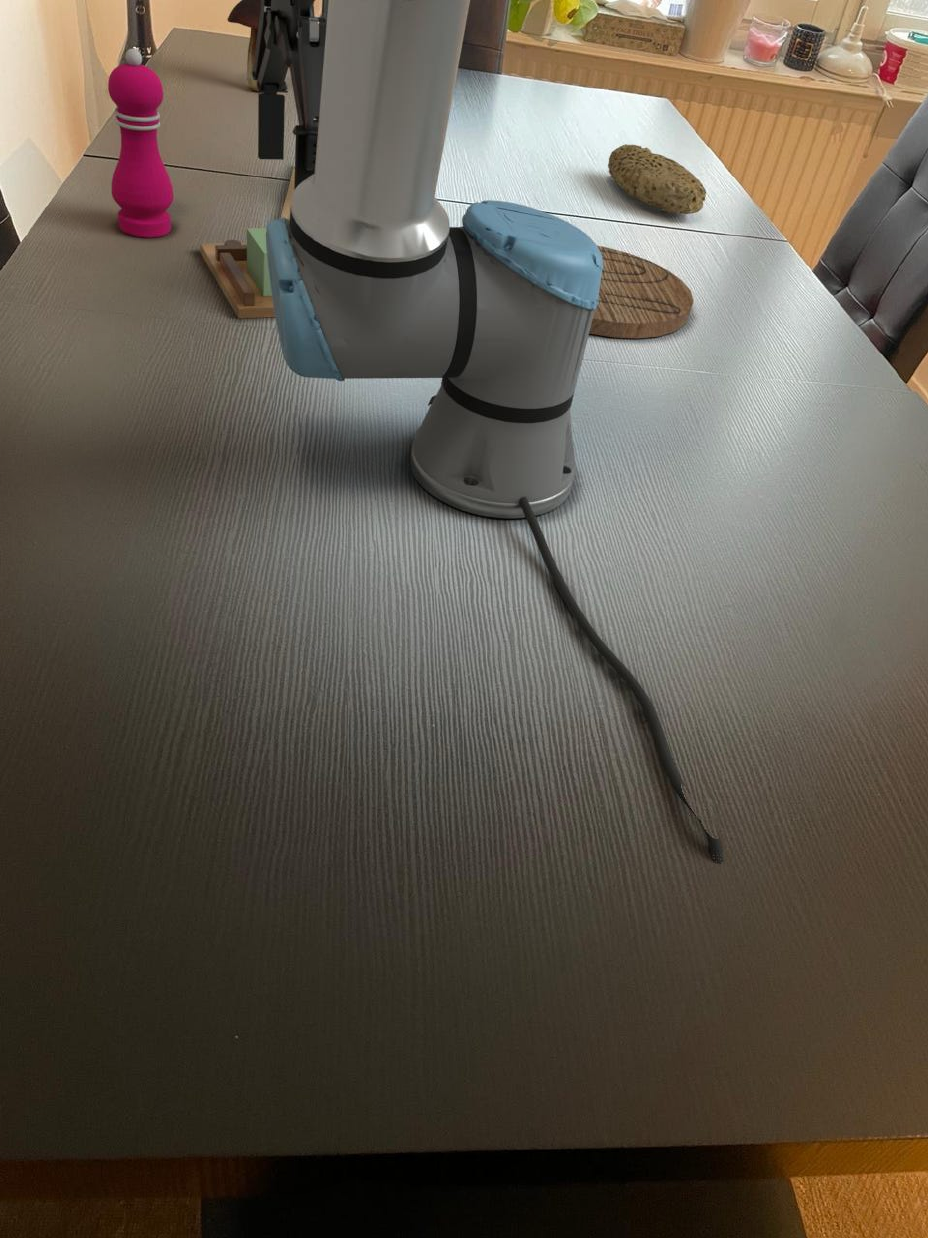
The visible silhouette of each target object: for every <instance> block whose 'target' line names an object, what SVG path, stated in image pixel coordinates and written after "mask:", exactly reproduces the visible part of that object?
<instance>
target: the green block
mask: <svg viewBox="0 0 928 1238" xmlns="http://www.w3.org/2000/svg"><path fill="white" fill-rule="evenodd" d="M266 231H267V229H266V227H259V228H258V227H257V228H255V227H254V228H251V227H249V228H247V229H246V243H247V272H248V273H249V275H250V277H251V278H252V280H253V281H254V283H255V284H256V286H257V287H258V289H259V291H260V292H261V294H262V295H263V296H264V297H265V296H272V291H271V284H270V276H269V268H268V259H267V249H266Z"/></svg>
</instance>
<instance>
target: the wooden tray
mask: <svg viewBox="0 0 928 1238" xmlns="http://www.w3.org/2000/svg"><path fill="white" fill-rule="evenodd" d="M199 250H200V251H199V252H200V255H201V256H202V258H203V261H204V262H205V264H206V265H207V267H208V268H209V269H208V270H209V271H210V272H211V274H212V276H213V277H214V279H215V281H216V282H217V284H218V286H219V288H220V289H221V291H222V293H223V295H224V296H225V298H226V299H227V301H228V304H229V305H230V306H231V308H232V310H233V312H234V313H235V315H236V317H237V319H239V320H240V319H259V318H261V319H262V318H276V317H275V311H274V305H273V298H272V296H265V297H264V296H263V295H262V294H261V292H260V291H259V289H258V287H257V286H256V284H255V283H254V281H253V280H252V278H251V277H250V275H249V273H248V272H247V242H241V241H239V240H236V239H226V240H224V242H221V243H220V242H218V243H217V242H215V243H214V242H213V243H212V242H211V243H200V244H199Z"/></svg>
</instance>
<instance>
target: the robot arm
mask: <svg viewBox="0 0 928 1238" xmlns="http://www.w3.org/2000/svg"><path fill="white" fill-rule="evenodd" d="M315 1H316V0H261V13H260V20H259V27H258V34H257V42H256V49H255V56H254V63H253V71H252V77H253V80H256V81H257V84H256V85H257V89H258V91H257V92H259V93H258V95H257V97H258V100H257V101H258V102H257V103H258V104H257V105H258V111H257V112H258V113H257V119H258V120H257V121H258V123H257V124H258V125H257V136H258V137H257V158H258V159H259V160H274V161H275V160H277V161H278V160H281V161H282V160H284V158H285V157H284V152H285V111H286V109H285V106H286V96H285V95H284V94H281V93H285V94H287V93H288V92H289V91H288V85H287V81H286V77H287V74H288V71H289V73H290V79H291V85H292V91H293V97H294V104H295V108H296V115H297V121H298V124H295V126H294V128H293V129H292V135H294V136H295V150H294V152H295V153H294V168H295V180H294V192H293V195H292V199H291V208H290V220H289V219H286V218H283V217H281V216H279V218H276V219H272V220H270V221H268V222H267V224H266V227H265V228H266V229H267V231H266V249H267V259H268V268H269V276H270V284H271V291H272V298H273V305H274V311H275V317H274V318H275V324H276V326H277V327H276V328H277V333H278V338H279V343H280V348H281V352H282V356H283V359H284V361H285V363H286V366H287V367H288V368H289V369H290V370H291V371H292V372H293V373H294V374H296V375H297V376H299V377H303V378H310V379H311V378H312V379H329V380H336V381H338V382H345V379H347V380H351V379H355V380H358V379H362V380H363V379H370V380H371V379H441V382H440V387H439V389H438V391H437V393H436V394H435V395H433V396H432V397H431V398H430V399H429V402H428V404H427V406H428V407H429V408H428V410H427V412H426V414H425V416H424V418H423V420H422V422H421V424H420V426H419V427H418V429H417V431H416V433H415V435H414V438H413V441H412V444H411V445H412V446H411V453H410V461H409V462H410V469H411V472H412V474H413V476H414V479H415V480H416V481H417V482H418V484H419V485H420V486H421V487H422V488H423V489H424V490H425V491H426V492H428V494H430V495H431V496H433V497H434V498H436V499H437V500H439V501H440V502H443V503H445V504H446V505H448V506H451V507H453V508H455V509H457V510H461V511H464V512H466V513H470V514H473V515H478V516H483V517H489V518H494V519H495V518H496V519H523V518H524V519H525V520H526V522H527V524H528V526H529V529H530V530H531V531H530V532H531V533H532V535H533V537H534V540H535V542H536V545H537V547H538V550H539V552H540V554H541V557H542V560H543V562H544V564H545V566H546V569H547V571H548V573H549V575H550V577H551V579H552V581H553V583H554V585H555V587H556V589H557V591H558V592H559V595H560V596H561V598H562V600H563V603H565V606H566V608H567V609H568V611H569V612H570V614H571V616H572V617H573V619H574V621H575V622H576V624H577V625H578V627H579V628H580V630H581V631H582V632H583V634H584V635H585V637H586V638H587V639H588V641H589V642H590V643H591V645H592V646H593V647H594V649H596V651H597V652H598V653H599V654H600V655H601V656H602V658H603V659H604V660H605V661H606V663H608V665H610V667H611V668H612V669H613V671H615V672H616V673H617V674H618V676H619V677H620V678H621V679H622V680H623V682H624V683H625V684H626V685H627V687H628V688H629V690H630V691H631V692H632V694H633V696H634V697H635V699H636V700H637V702H638V703H639V705H640V707H641V709H642V711H643V713H644V715H645V717H646V720H647V723H648V725H649V728H650V731H651V734H652V737H653V740H654V743H655V747H656V749H657V753H658V756H659V759H660V762H661V764H662V767H663V769H664V772H665V774H666V776H667V778H668V781H669V783H670V785H671V786H672V788H673V790H674V791H675V793H676V794H677V796H678V797H679V799H680V800H681V801H682V802H683V803H684V805H686V807H687V808H688V809H689V810H690V811H691V813H692V814H693V815H694V816H695V818H696V820H697V821H698V822H699V824H700V825H701V827H702V829H703V832H704V834H705V836H706V839H707V843H708V847H709V848H708V849H709V854H710V855H709V856H710V858H711V859H712V861H713V862H714V863H715V864H718V865H721V864H723V863H724V851H723V846H722V841H721V838H720V836H719V838H718V839H714V838H712V837H711V836H710V835H709V834H708V833H707V832H706V830H705V829H704V827H703V825H702V824H701V822H700V821H699V819H698V818H697V817H696V815H695V814H694V812H693V811H692V809H691V808H690V806H689V805H688V803H687V801H686V799H685V797H684V794H683V792H682V788H681V783H682V784H683V785H684V786H685V787H687V785H686V784H685V782H684V780H683V778H682V777H681V775H680V772H679V771H678V768H677V766H676V763H675V761H674V758H673V755H672V753H671V750H670V746H669V744H668V740H667V737H666V734H665V731H664V728H663V726H662V725H663V724H662V723H661V720H660V718H659V716H658V712H657V710H656V709H655V707H654V704H653V703H652V701H651V699H650V698H649V696H648V695H647V693H646V691H645V690H644V688H643V686H642V685H641V684H640V682H639V681H638V680H637V679H636V677H635V676H634V675H633V674H632V672H631V671H630V670H629V669H628V668H627V667H626V666H625V664H623V662H622V661H621V660H620V659H619V658H618V657H617V656H616V655H615V654H614V653H613V651H612V650H611V649H610V648H609V647H608V646H607V645H606V643H605V642H604V641H603V639H602V638H601V637H600V636H599V634H598V633H597V632H596V630H594V627H593V626H592V625H591V623H590V622H589V621H588V619H587V618H586V616H585V614H584V613H583V611H582V610H581V608H580V607H579V605H578V603H577V601H576V600H575V598H574V596H573V595H572V593H571V591H570V589H569V587H568V585H567V583H566V581H565V580H564V578H563V576H562V574H561V572H560V569H559V568H558V565H557V563H556V561H555V559H554V558H553V555H552V553H551V550H550V547H549V546H548V542H547V539H546V537H545V536H544V534H543V531H542V528H541V527H540V523H539V521H538V519H537V518H536V516H539V515H540V516H541V515H543V514H546V513H549V512H551V511H553V510H556V509H557V508H558V507H560V506H561V505H562V504H564V502H565V501H566V500H567V499H568V498H569V496H570V494H571V492H572V488H573V483H574V479H575V477H576V455H575V447H574V446H575V445H574V438H573V437H574V436H573V427H572V426H573V425H572V418H571V417H572V416H571V408H572V403H573V399H574V395H575V391H576V387H577V383H578V380H579V376H580V372H581V367H582V363H583V359H584V355H585V351H586V347H587V343H588V339H589V336H590V333H589V331H590V327H591V323H592V319H593V315H594V311H595V309H596V308H597V306H598V303H599V300H598V296H599V289H600V283H601V276H602V270H603V259H602V255H601V252H600V250H599V248H598V246H599V245H597V244H596V242H595V241H594V240H593V239H592V238H591V237H590V236H589V234H587V233H585V231H583V230H581V229H580V228H578V227H576V226H575V225H574V224H572V223H570V222H568V221H566V220H564V219H562V218H560V217H558V216H555V215H553V214H551V213H548V212H546V211H543V210H540V209H537V208H533V207H531V206H526V205H523V204H519V203H515V202H509V201H502V200H494V199H491V200H490V199H489V200H482V201H481V202H478V201H476V202H473V203H472V204H470V205H469V206H468V207H467V208H466V211H465V213H464V214H463V215H462V217H461V225H462V226H451V225H450V218H449V215H448V213H447V211H446V210H445V208H444V207H443V205H442V204H441V203H440V202H439V200H438V199H437V198H436V197H435V196H436V191H437V186H438V180H439V175H440V169H441V163H442V160H443V159H442V158H443V153H444V152H443V151H444V148H445V141H446V136H447V130H448V125H449V119H450V115H451V114H450V113H451V107H452V103H453V97H454V92H455V85H456V81H457V74H458V69H459V65H460V59H461V53H462V48H463V42H464V36H465V31H466V25H467V20H468V14H469V9H470V2H471V0H328V3H327V14H326V15H327V17H322V16H321V17H320V16H319V17H318V16H315V6H314V5H315ZM279 93H280V94H279ZM687 789H688V790H689V788H688V787H687ZM718 834H719V835H720V833H719V832H718ZM722 854H723V855H722ZM713 855H714V856H713ZM717 855H718V856H717ZM720 855H721V856H720ZM722 856H723V857H722ZM712 857H713V858H712ZM714 858H715V859H714ZM718 858H719V859H718ZM720 859H721V860H720ZM716 861H717V862H716ZM721 862H723V863H721Z"/></svg>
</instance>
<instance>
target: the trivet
mask: <svg viewBox="0 0 928 1238" xmlns="http://www.w3.org/2000/svg"><path fill="white" fill-rule="evenodd" d="M597 246H598V248H599V250H600V252H601V255H602V259H603V270H602V276H601V283H600V289H599V296H598V300H599V303H598V306H597V308H596V309H595V311H594V315H593V319H592V323H591V327H590V331H589V335H590V334H591V335H597V336H603V337H607V338H608V337H609V338H620V339H647V338H657V337H661V336H665V335H668V334H671V333H675V332H677V331H678V330H680V329H681V328H682V327H684V326H685V325H686V324H687V321H688V320H689V318H690V316H691V315H690V314H691V311H692V308H693V304H694V301H695V299H694V297H693V294H692V290H691V289H690V288H689V286H688V285H686V283H685V282H684V281H683V280H682V279H681V278H680V277H678V276H677V275H675V274H674V273H672V272H671V271H670V270H668V269H666V268H664V267H663V266H660V265H659V264H657V263H655V262H653V261H650V260H648V259H645V258H643V257H640V256H637V255H635V254H632V253H629V252H625V251H622V250H618V249H614V248H612V247H611V248H610V247H606V246H601V245H597Z"/></svg>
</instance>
